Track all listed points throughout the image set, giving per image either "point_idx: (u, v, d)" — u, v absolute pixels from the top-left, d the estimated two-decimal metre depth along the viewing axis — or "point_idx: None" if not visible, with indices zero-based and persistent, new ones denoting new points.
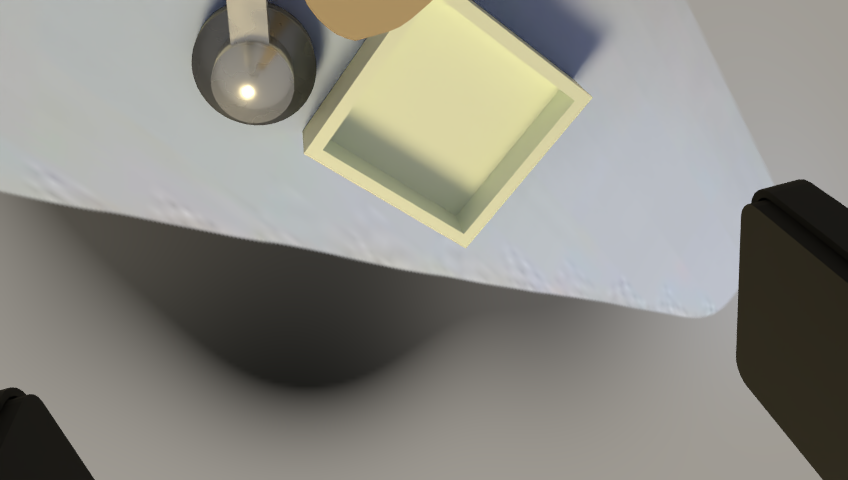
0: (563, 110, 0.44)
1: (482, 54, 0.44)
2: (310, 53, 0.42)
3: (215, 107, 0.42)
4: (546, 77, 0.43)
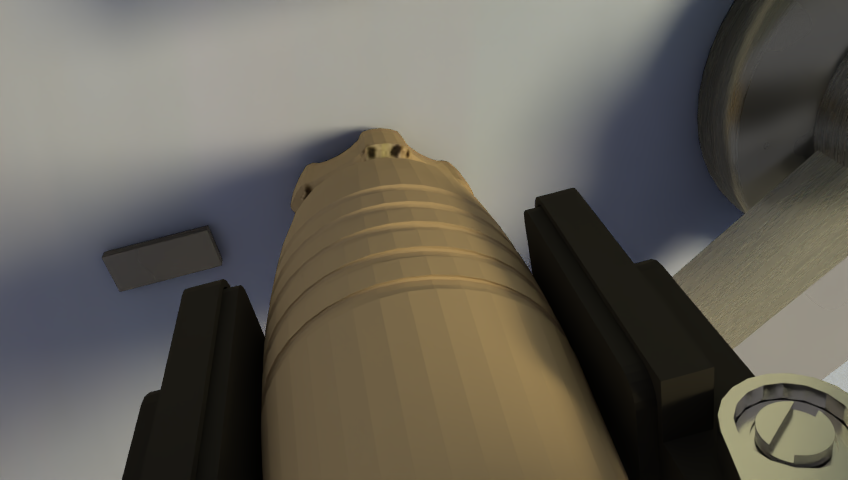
0: None
1: None
2: (801, 12, 0.12)
3: None
4: None
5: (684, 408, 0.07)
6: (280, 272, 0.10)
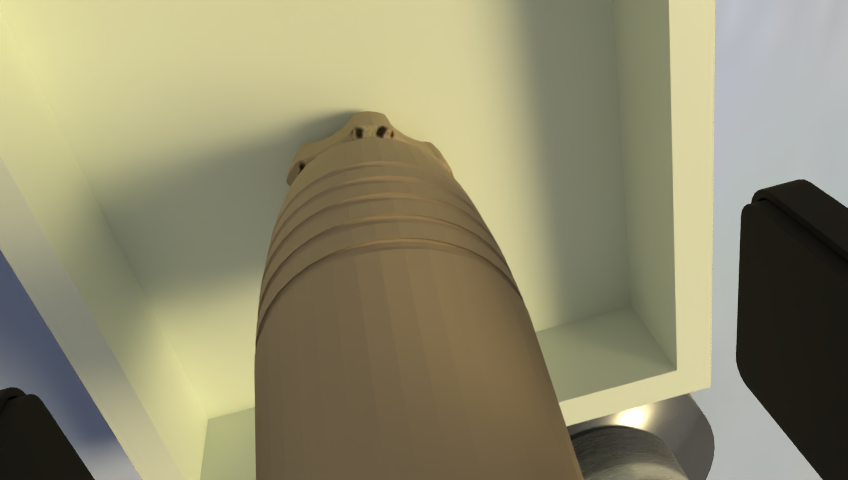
0: None
1: (177, 225, 0.15)
2: None
3: (708, 464, 0.21)
4: None
5: None
6: (274, 237, 0.11)
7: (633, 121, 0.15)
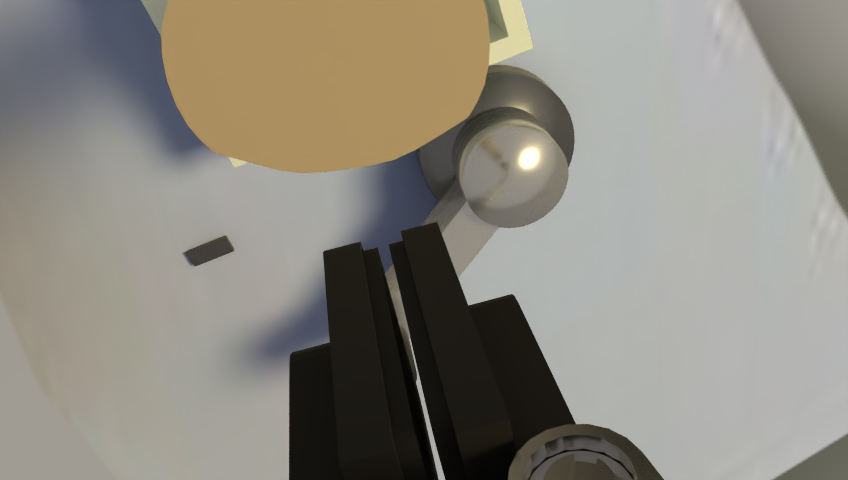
0: None
1: None
2: None
3: (571, 137, 0.32)
4: None
5: (486, 459, 0.07)
6: None
7: None
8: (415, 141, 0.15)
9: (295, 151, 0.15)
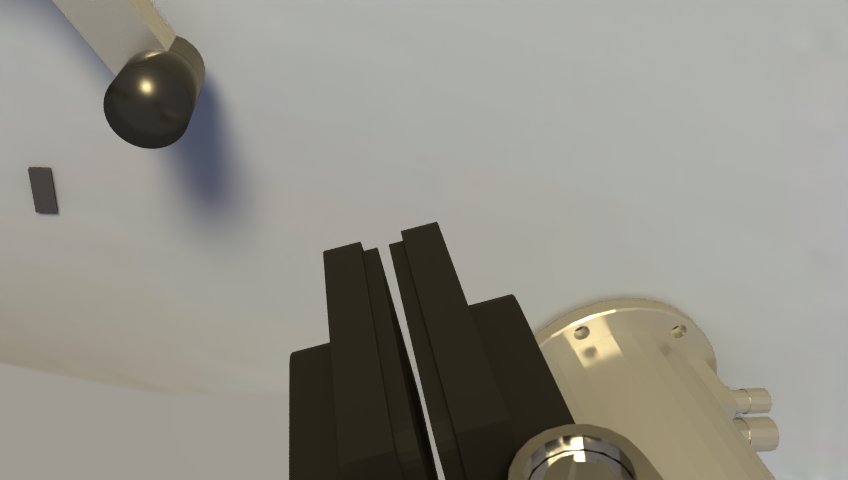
0: None
1: None
2: None
3: None
4: None
5: (486, 459, 0.07)
6: None
7: None
8: None
9: None
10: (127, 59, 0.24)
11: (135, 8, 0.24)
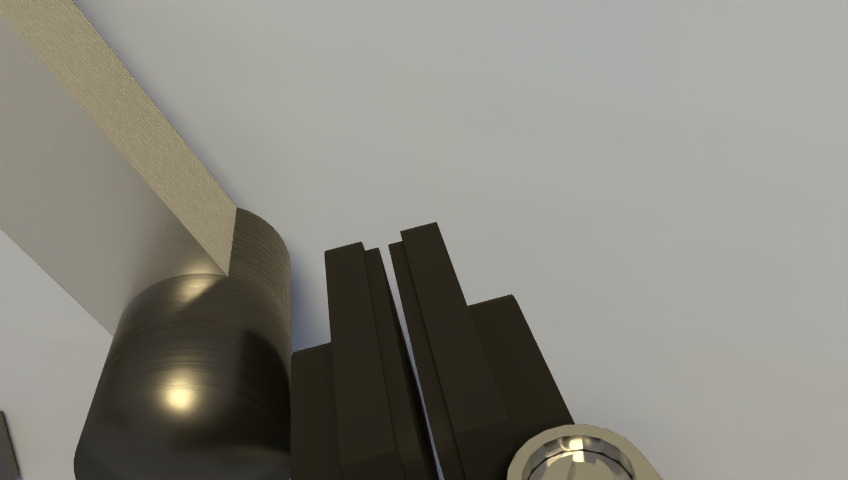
0: None
1: None
2: None
3: None
4: None
5: (485, 459, 0.07)
6: None
7: None
8: None
9: None
10: (134, 296, 0.10)
11: (156, 187, 0.10)
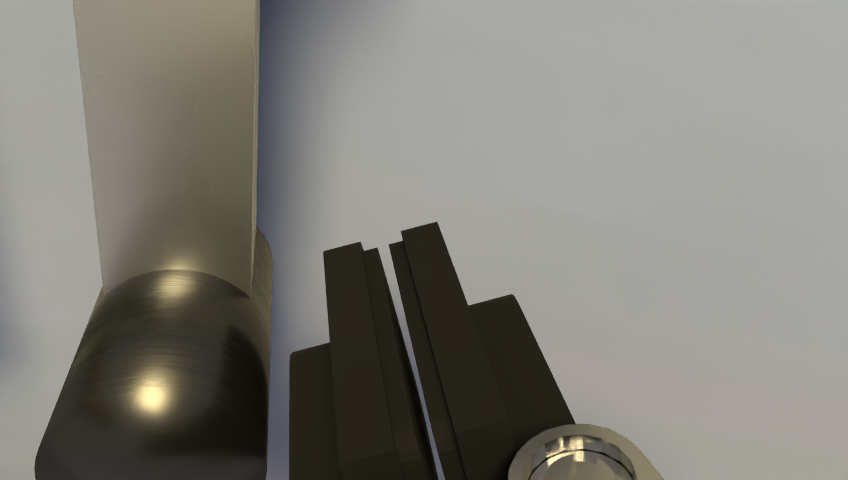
0: None
1: None
2: None
3: None
4: None
5: (486, 459, 0.07)
6: None
7: None
8: None
9: None
10: (156, 270, 0.10)
11: (252, 193, 0.10)
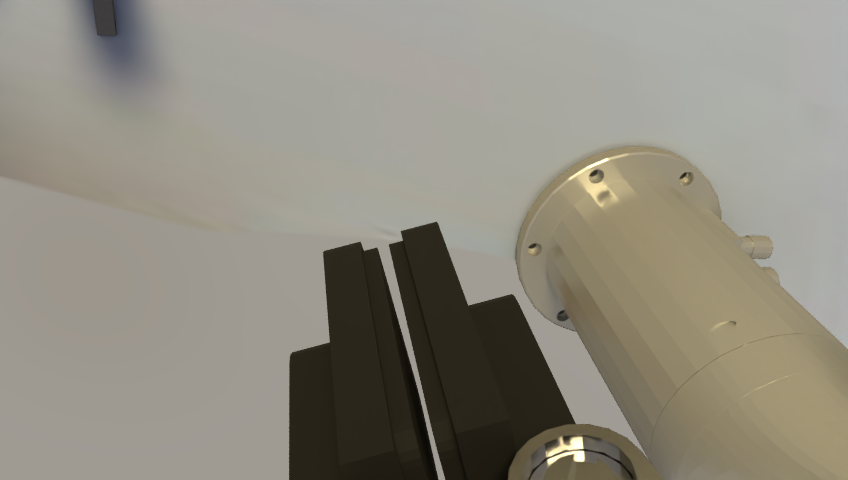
0: None
1: None
2: None
3: None
4: None
5: (486, 459, 0.07)
6: None
7: None
8: None
9: None
10: None
11: None
